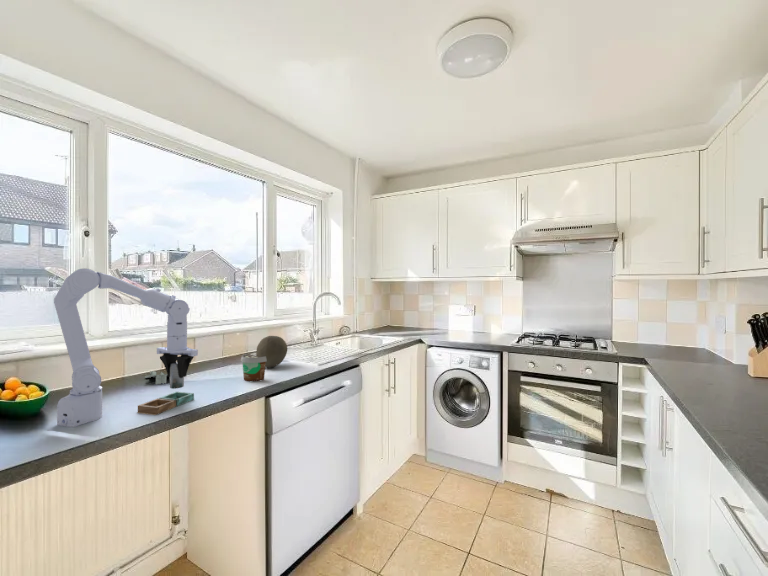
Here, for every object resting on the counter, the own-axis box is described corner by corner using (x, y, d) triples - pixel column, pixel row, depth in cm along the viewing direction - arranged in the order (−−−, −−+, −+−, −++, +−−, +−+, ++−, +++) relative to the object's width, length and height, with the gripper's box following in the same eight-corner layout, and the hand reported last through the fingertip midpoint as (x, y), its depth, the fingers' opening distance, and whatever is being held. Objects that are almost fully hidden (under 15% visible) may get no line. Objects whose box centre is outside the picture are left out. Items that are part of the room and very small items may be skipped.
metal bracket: (182, 368, 144) (138, 371, 139) (181, 383, 143) (137, 386, 137) (186, 370, 157) (146, 373, 152) (186, 384, 156) (145, 387, 150)
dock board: (155, 418, 106) (155, 408, 106) (136, 415, 108) (136, 406, 108) (194, 401, 121) (194, 393, 121) (177, 399, 123) (177, 391, 123)
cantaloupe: (278, 371, 164) (279, 338, 164) (250, 369, 166) (250, 337, 166) (291, 364, 178) (291, 334, 178) (265, 363, 180) (265, 333, 180)
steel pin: (177, 389, 115) (177, 364, 115) (166, 388, 116) (166, 363, 116) (186, 385, 119) (186, 361, 119) (176, 384, 120) (176, 361, 120)
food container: (233, 379, 149) (234, 355, 149) (245, 376, 154) (246, 353, 154) (255, 383, 143) (255, 359, 143) (266, 380, 149) (266, 356, 148)
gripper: (204, 334, 120) (204, 375, 120) (169, 333, 123) (168, 372, 123) (188, 338, 113) (188, 380, 113) (151, 335, 116) (151, 377, 117)
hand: (176, 376), depth 118 cm, fingers closed on steel pin, 4 cm apart
